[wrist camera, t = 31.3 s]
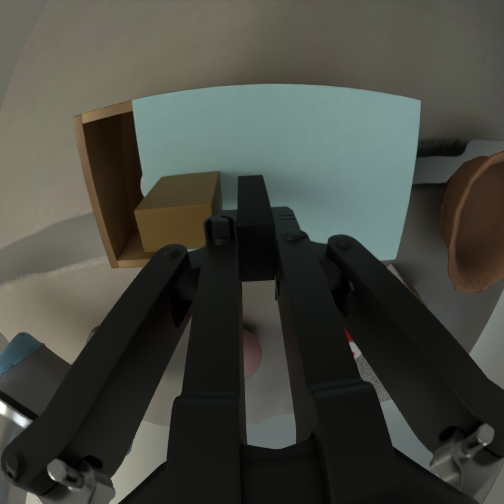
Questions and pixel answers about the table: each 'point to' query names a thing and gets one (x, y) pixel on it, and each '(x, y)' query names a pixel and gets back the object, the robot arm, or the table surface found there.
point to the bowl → (475, 223)
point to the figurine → (251, 353)
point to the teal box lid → (278, 160)
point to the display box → (113, 180)
